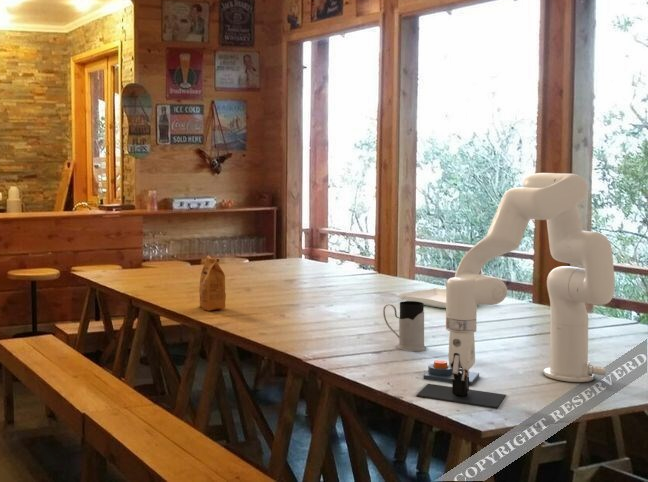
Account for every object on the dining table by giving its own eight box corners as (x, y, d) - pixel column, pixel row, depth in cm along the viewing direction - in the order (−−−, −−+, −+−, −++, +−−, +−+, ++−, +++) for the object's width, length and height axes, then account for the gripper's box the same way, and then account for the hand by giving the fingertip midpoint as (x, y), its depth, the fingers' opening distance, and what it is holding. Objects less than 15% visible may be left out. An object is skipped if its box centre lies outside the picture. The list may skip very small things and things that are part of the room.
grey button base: (479, 377, 227) (479, 366, 227) (471, 386, 219) (471, 375, 218) (432, 370, 234) (432, 361, 234) (423, 379, 226) (423, 368, 226)
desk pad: (505, 396, 209) (505, 394, 209) (497, 408, 199) (497, 407, 199) (428, 385, 220) (428, 383, 220) (416, 396, 210) (416, 394, 210)
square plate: (490, 303, 333) (490, 294, 332) (451, 312, 317) (451, 302, 317) (435, 295, 355) (435, 286, 355) (395, 302, 340) (395, 293, 340)
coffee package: (218, 304, 342) (217, 254, 341) (228, 310, 330) (227, 258, 329) (196, 306, 339) (195, 255, 338) (205, 311, 327) (204, 259, 326)
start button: (448, 367, 228) (448, 361, 228) (445, 370, 225) (445, 363, 225) (435, 365, 230) (435, 359, 230) (432, 368, 227) (432, 362, 227)
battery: (468, 394, 210) (468, 371, 210) (465, 397, 207) (466, 374, 207) (455, 392, 212) (455, 369, 212) (452, 395, 209) (452, 372, 209)
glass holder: (419, 352, 255) (419, 306, 255) (377, 346, 265) (377, 301, 264) (429, 347, 262) (429, 302, 261) (389, 341, 271) (389, 298, 271)
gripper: (469, 332, 200) (468, 403, 201) (482, 320, 213) (481, 387, 214) (438, 329, 204) (438, 398, 205) (453, 317, 218) (453, 383, 219)
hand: (460, 392), depth 210 cm, fingers closed on battery, 3 cm apart
